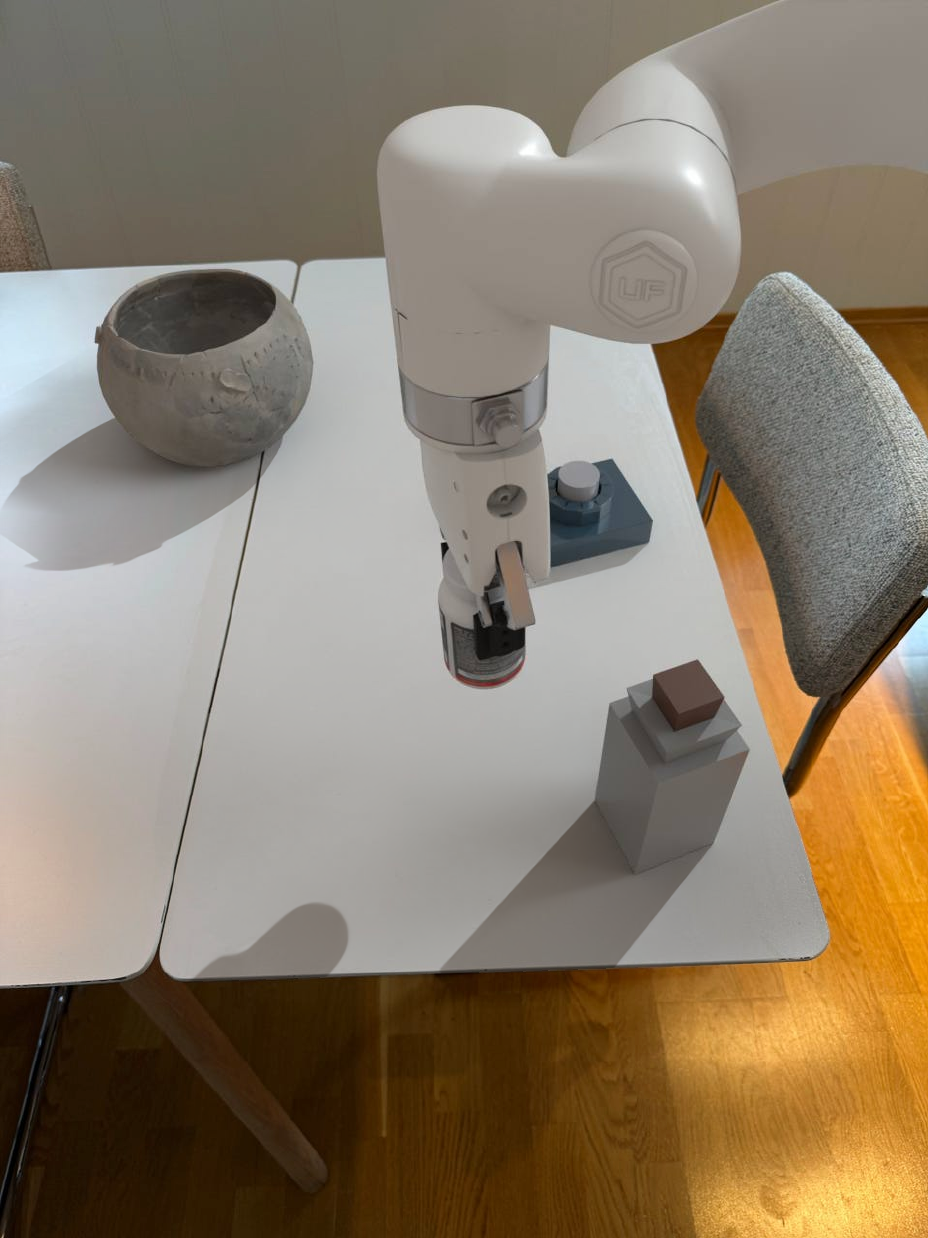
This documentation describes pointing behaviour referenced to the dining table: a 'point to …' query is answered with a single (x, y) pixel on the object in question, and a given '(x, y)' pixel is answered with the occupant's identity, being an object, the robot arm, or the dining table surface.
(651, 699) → the perfume bottle
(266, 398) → the bowl
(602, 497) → the button housing
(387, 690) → the dining table surface
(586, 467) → the grey button cap
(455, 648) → the pill bottle
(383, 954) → the dining table surface
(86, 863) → the dining table surface
